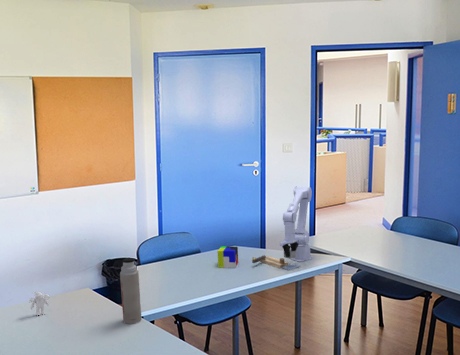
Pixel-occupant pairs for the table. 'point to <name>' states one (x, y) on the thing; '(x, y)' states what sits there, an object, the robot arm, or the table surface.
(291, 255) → the lever cap
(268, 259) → the plane body
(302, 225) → the robot arm
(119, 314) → the table surface
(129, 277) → the thermos bottle
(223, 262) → the puzzle toy
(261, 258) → the lever
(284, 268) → the mat
